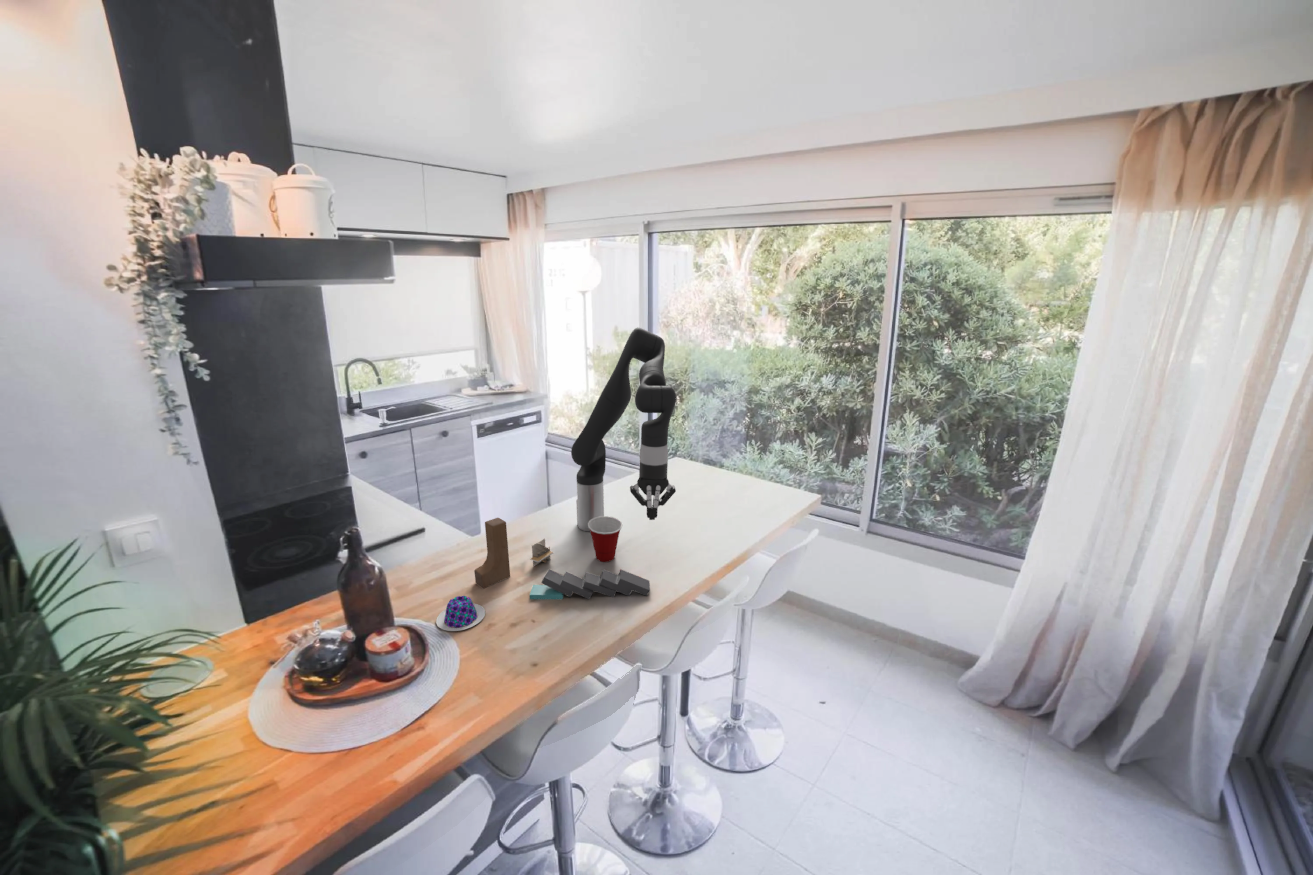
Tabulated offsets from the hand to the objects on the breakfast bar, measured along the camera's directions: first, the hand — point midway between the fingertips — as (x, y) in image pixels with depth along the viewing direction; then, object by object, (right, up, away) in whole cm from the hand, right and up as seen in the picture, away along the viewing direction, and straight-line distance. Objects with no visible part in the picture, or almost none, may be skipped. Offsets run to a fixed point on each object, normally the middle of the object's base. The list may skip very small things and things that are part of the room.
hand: (651, 518), depth 148 cm
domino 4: (-10, -20, +3) cm, 23 cm away
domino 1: (-25, -21, +2) cm, 32 cm away
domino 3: (-17, -21, +1) cm, 26 cm away
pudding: (-49, -25, -9) cm, 56 cm away
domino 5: (-6, -20, +3) cm, 21 cm away
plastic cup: (-15, -16, +21) cm, 30 cm away
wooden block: (-46, -19, +8) cm, 51 cm away
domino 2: (-22, -20, +2) cm, 30 cm away
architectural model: (-34, -17, +18) cm, 42 cm away
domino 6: (-1, -20, +3) cm, 20 cm away
